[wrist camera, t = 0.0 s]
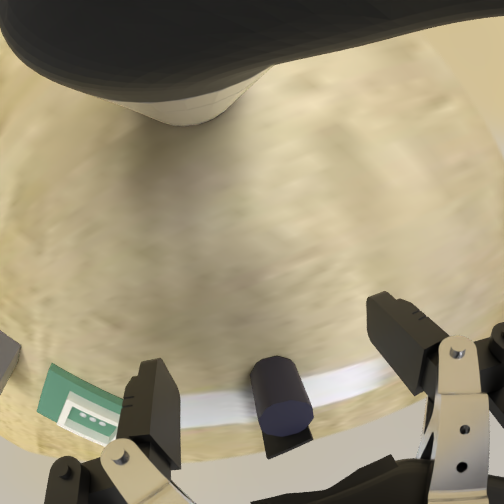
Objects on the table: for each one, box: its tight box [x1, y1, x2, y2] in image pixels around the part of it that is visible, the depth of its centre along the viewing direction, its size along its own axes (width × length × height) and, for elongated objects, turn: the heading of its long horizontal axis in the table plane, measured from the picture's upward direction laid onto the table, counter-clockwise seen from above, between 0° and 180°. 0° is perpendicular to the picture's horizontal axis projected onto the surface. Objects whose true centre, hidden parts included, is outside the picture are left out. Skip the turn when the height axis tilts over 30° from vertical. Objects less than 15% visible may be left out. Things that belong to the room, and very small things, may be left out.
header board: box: [37, 363, 123, 447], centre depth 31 cm, size 16×12×3 cm
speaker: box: [250, 356, 314, 459], centre depth 30 cm, size 8×6×10 cm
